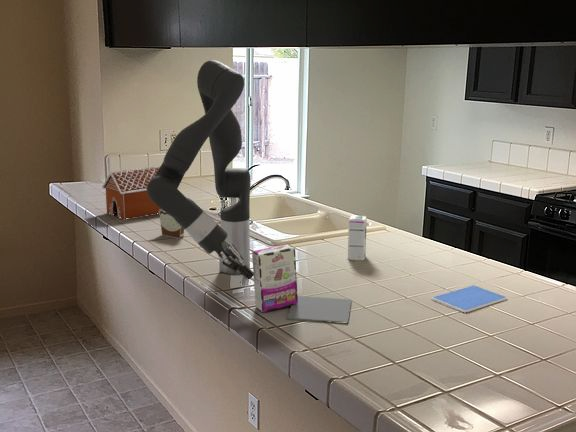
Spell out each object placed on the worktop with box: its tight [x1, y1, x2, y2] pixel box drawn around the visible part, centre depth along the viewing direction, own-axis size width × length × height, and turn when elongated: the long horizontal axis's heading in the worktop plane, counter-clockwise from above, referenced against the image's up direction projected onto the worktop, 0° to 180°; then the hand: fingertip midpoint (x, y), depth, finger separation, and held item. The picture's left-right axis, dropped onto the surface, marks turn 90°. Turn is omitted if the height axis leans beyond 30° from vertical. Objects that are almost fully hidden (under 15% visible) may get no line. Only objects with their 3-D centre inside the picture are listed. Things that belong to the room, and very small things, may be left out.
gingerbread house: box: [101, 165, 161, 220], centre depth 274 cm, size 18×26×20 cm
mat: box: [286, 295, 352, 323], centre depth 171 cm, size 16×16×1 cm
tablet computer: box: [431, 285, 508, 314], centre depth 180 cm, size 19×13×1 cm, turn 126°
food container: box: [157, 209, 185, 240], centre depth 240 cm, size 12×6×10 cm, turn 58°
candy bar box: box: [251, 243, 299, 313], centre depth 171 cm, size 11×5×16 cm, turn 119°
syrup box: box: [347, 214, 367, 262], centre depth 215 cm, size 6×6×14 cm
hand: (251, 276), depth 170 cm, fingers closed
